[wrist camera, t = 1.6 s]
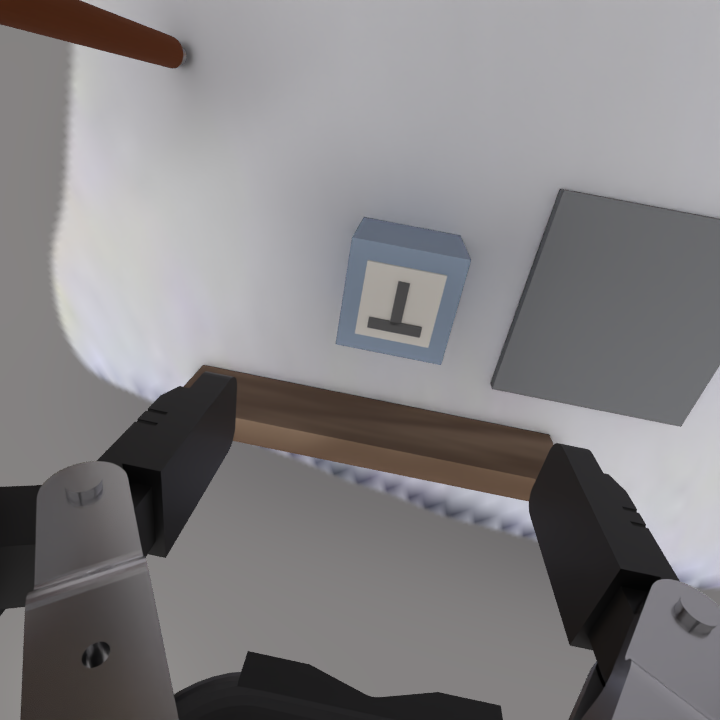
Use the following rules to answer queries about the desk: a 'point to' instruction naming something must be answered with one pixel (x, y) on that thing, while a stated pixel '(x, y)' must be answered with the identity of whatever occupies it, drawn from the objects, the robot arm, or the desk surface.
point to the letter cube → (402, 290)
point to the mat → (618, 310)
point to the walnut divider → (386, 436)
